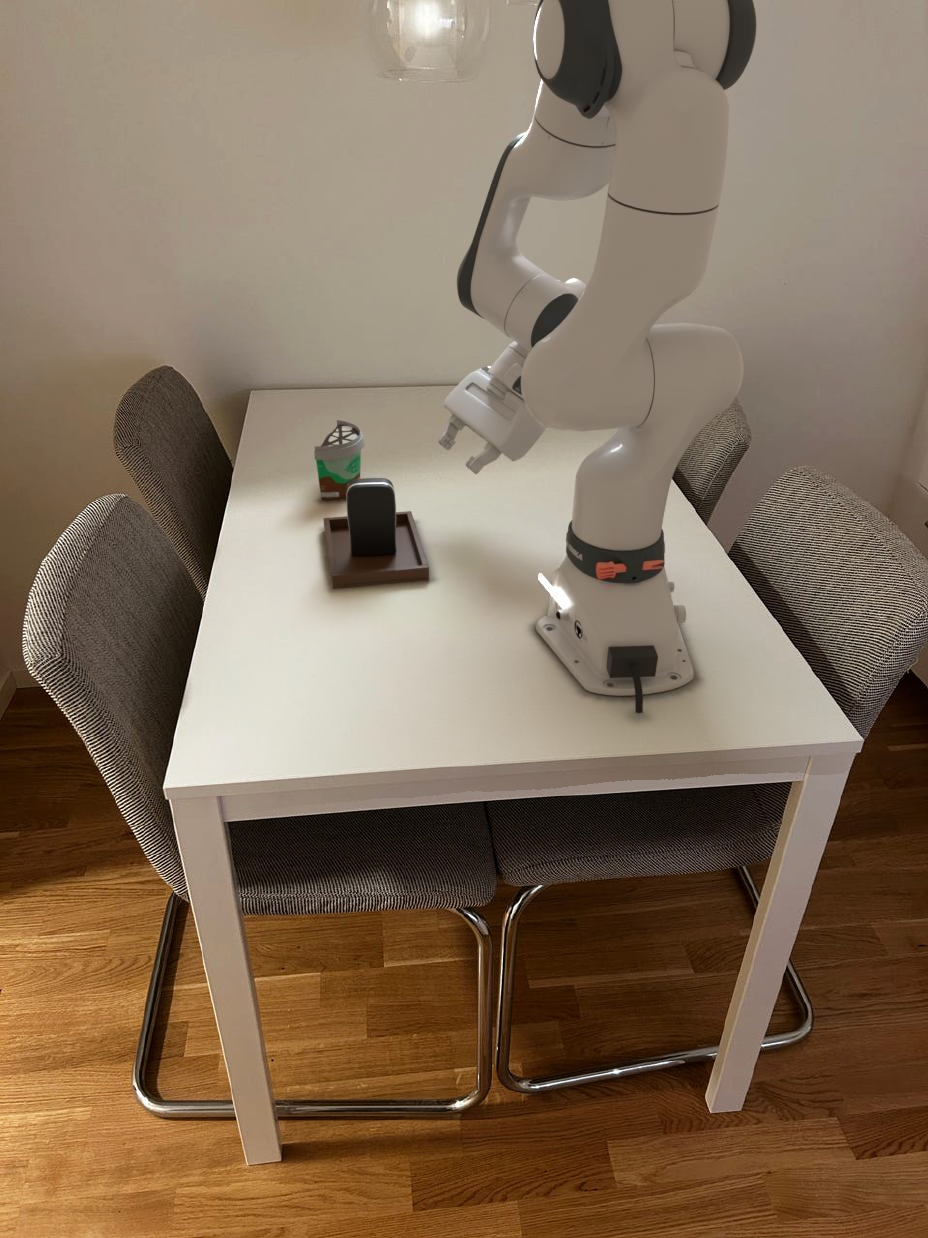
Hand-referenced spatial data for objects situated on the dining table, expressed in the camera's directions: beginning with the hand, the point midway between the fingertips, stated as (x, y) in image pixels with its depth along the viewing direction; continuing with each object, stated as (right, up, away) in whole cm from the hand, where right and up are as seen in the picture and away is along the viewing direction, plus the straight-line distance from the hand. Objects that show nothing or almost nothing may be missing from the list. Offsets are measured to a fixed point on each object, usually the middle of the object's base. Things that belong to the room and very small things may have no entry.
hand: (456, 457), depth 138 cm
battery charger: (-12, -14, +2) cm, 18 cm away
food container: (-18, -2, +19) cm, 27 cm away
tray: (-12, -14, +2) cm, 19 cm away
